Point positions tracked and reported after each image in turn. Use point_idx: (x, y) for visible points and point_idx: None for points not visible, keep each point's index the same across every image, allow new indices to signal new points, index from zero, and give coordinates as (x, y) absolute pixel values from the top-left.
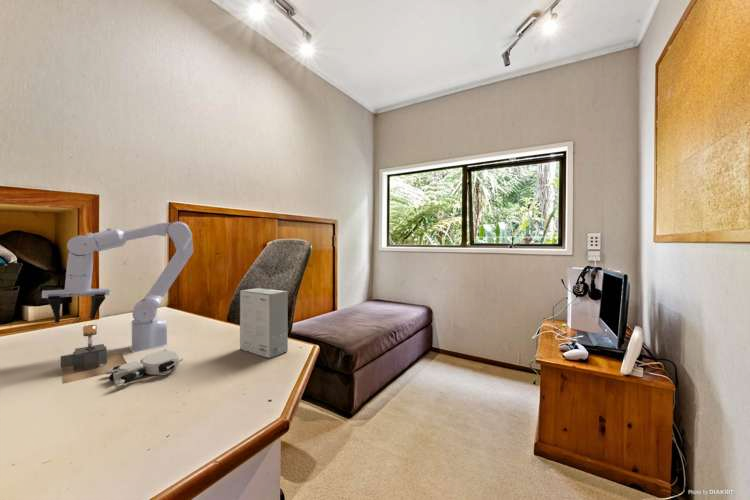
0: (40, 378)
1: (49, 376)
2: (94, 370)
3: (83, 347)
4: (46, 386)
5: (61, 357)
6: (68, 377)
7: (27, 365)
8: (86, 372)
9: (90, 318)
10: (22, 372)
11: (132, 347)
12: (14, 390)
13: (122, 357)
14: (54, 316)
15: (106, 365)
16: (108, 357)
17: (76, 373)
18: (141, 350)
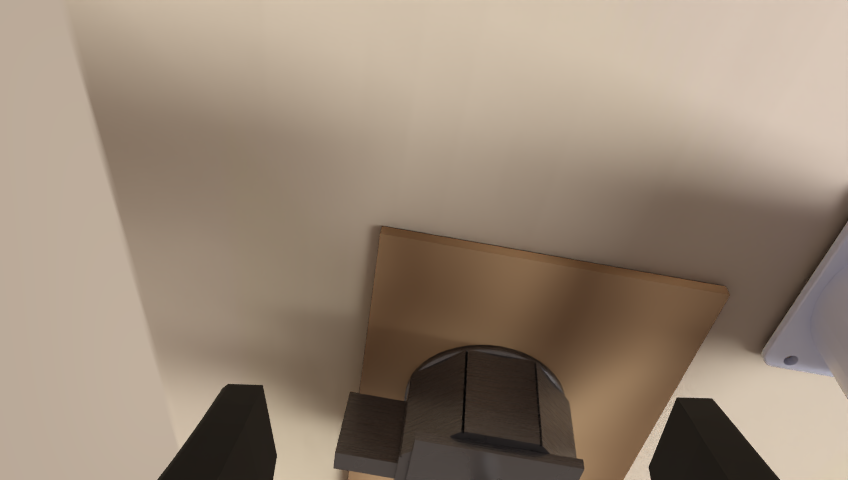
0: (275, 362)
1: (310, 367)
2: None
3: (462, 454)
4: (297, 465)
5: (338, 464)
6: None
7: (184, 19)
8: None
9: (667, 429)
10: (181, 183)
11: (821, 314)
12: (194, 420)
13: (657, 407)
14: (185, 462)
15: None
16: (611, 347)
17: None
18: (817, 372)
